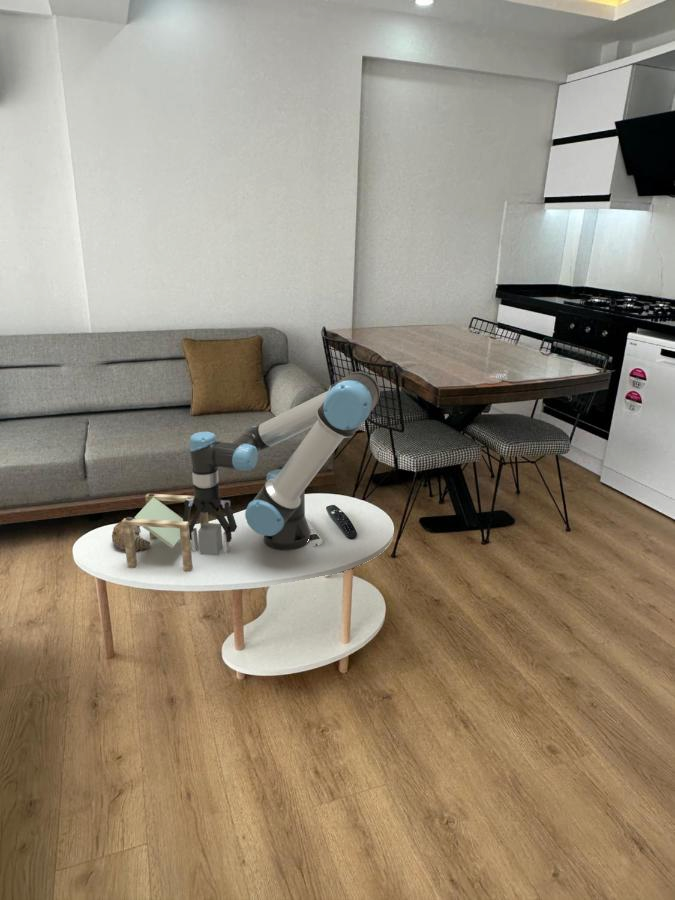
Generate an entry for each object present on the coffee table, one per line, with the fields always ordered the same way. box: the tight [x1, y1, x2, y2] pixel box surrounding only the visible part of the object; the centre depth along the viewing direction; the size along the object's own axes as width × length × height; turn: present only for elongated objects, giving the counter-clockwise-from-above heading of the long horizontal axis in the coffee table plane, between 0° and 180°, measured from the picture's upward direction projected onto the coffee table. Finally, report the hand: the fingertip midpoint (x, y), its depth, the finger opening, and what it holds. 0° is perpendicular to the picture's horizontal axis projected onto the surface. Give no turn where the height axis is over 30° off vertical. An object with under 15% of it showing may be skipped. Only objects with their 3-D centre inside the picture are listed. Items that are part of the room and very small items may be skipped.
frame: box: [121, 492, 210, 572], centre depth 183 cm, size 19×19×16 cm
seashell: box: [111, 521, 151, 552], centre depth 190 cm, size 14×10×10 cm
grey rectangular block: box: [197, 522, 224, 556], centre depth 186 cm, size 6×6×8 cm
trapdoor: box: [133, 497, 183, 549], centre depth 183 cm, size 14×14×4 cm
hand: (211, 549), depth 187 cm, fingers open, 9 cm apart
